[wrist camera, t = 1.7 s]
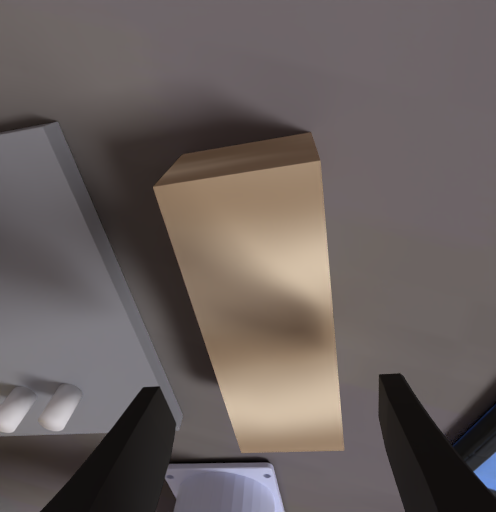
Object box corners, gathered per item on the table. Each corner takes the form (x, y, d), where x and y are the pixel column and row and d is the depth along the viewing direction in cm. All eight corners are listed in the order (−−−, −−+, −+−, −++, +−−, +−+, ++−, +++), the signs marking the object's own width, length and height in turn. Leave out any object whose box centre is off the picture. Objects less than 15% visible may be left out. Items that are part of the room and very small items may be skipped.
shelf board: (333, 381, 20) (344, 450, 17) (248, 386, 21) (241, 453, 18) (310, 130, 13) (320, 160, 10) (184, 152, 14) (152, 186, 11)
